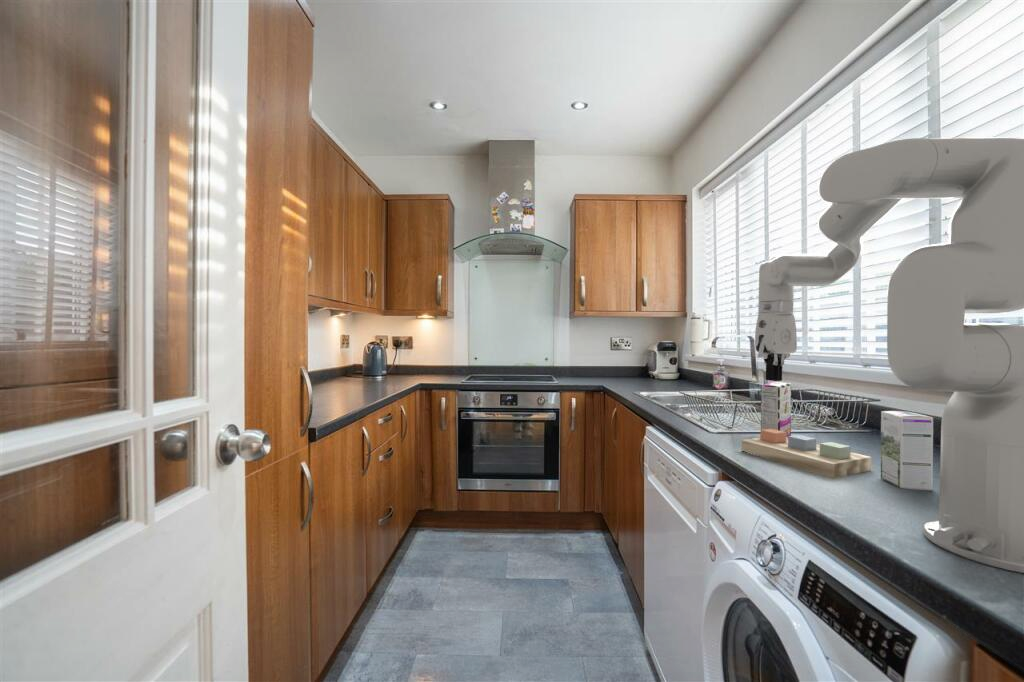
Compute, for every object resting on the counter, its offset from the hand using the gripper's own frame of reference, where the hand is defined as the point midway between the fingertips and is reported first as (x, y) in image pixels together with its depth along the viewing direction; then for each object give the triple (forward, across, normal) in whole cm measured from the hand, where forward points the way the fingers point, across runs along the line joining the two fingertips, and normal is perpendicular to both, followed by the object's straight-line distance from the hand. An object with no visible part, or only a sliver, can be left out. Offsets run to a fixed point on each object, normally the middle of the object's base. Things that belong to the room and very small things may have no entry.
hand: (773, 380), depth 102 cm
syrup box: (+19, +3, -25) cm, 32 cm away
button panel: (+18, 0, -7) cm, 20 cm away
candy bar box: (+19, +13, +8) cm, 24 cm away
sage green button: (+16, 0, -14) cm, 21 cm away
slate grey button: (+16, 0, -7) cm, 18 cm away
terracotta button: (+16, 0, 0) cm, 16 cm away
